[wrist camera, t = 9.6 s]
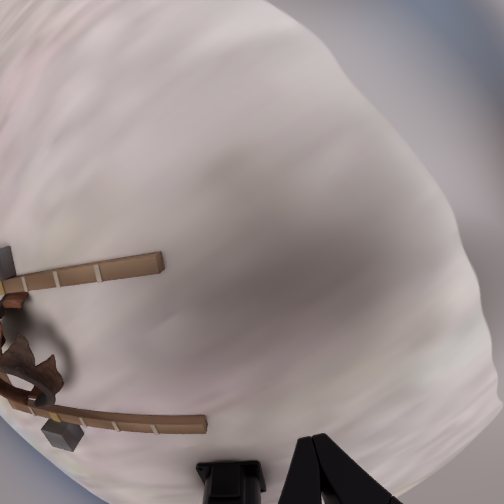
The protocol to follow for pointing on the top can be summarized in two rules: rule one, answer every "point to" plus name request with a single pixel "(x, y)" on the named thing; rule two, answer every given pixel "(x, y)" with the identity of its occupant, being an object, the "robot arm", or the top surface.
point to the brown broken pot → (26, 365)
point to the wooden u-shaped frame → (68, 419)
